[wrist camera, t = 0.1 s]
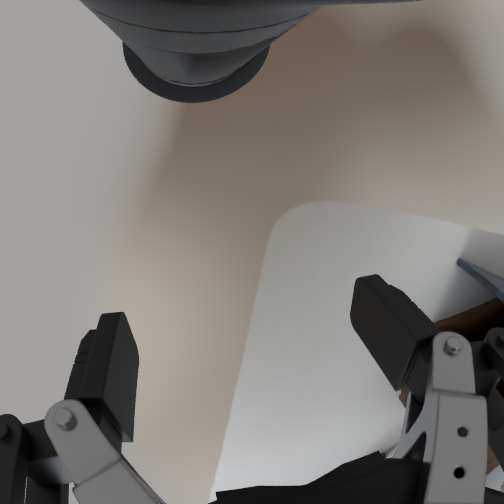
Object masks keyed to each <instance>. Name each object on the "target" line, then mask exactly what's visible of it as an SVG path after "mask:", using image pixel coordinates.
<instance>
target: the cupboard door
mask: <svg viewBox="0 0 504 504" xmlns="http://www.w3.org/2000/svg"><path fill="white" fill-rule="evenodd" d="M457 265H458V266H459V267H461V268H462V269H463V270H465V271H466V272H467V273H468V274H470V275H471V276H472V277H474V278H475V279H476V280H477V281H479V282H480V283H481V284H482V285H483V286H485V287H486V288H487V289H488V290H490V291H491V292H492V293H493V294H494V295H496V296H497V297H498V298H499V299H500V300H501V301H503V302H504V278H502V277H500V276H497V275H495V274H493V273H491V272H489V271H487V270H484V269H482V268H480V267H478V266H475V265H473V264H471V263H469V262H466V261H464V260H462V259H459V261H458V263H457Z"/></svg>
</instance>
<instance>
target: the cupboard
mask: <svg viewBox="0 0 504 504" xmlns="http://www.w3.org/2000/svg"><path fill="white" fill-rule="evenodd" d="M435 325H436V326H437V327H438V328H439V330H440V331H441V332H445V331H450V332H455V333H458V334H460V335H462V336H463V337H464V338H466V339H467V341H468V342H476V341H484V339H485V337H486V335H487V333H488V331H489V330H490V329H492V328H495V327H500V328H504V302H503V301H501V300H500V299H499V298H496V299H494V300H492V301H489V302H487V303H485V304H483V305H480V306H478V307H475V308H473V309H471V310H468V311H466V312H463V313H461V314H458V315H456V316H453V317H451V318H448V319H445V320H443V321H440V322H437V323H435ZM495 388H496V389H497V391H498V392H499V393H500V395H501V396H502V397H503V399H504V381H503V379H502V378H501V379H500V380H499V382H498V383H497V385H496V386H495ZM409 392H410V390H409V388H408V387H406V388H403V390H402V392H401V394H400V396H399V399H400V400H401V402H402V403H403V405H404V407H405V408H406V404H407V398H408V394H409ZM499 465H500V464H499V462H498V460H497V459H496V457H495V455H494V453H493V452H492V450H491V448H490V447H489V445H487V470H486V476H487V475H488V474H489V473H490V472H492V471H493V470H494V469H495V468H496V467H498V466H499Z"/></svg>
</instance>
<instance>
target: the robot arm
mask: <svg viewBox="0 0 504 504" xmlns="http://www.w3.org/2000/svg"><path fill="white" fill-rule="evenodd" d="M80 1H81V2H82V3H83V4H84V5H85V6H86V7H87V8H88V9H90V10H91V11H92V12H93V13H94V14H95V15H96V16H97V17H98V18H99V19H100V20H101V21H102V22H103V23H105V24H106V25H107V26H108V27H109V28H110V29H111V30H112V31H113V32H114V33H115V34H116V35H117V36H118V37H119V38H120V39H121V40H122V41H123V42H124V43H125V44H126V45H127V46H128V47H129V48H130V49H131V50H132V51H133V52H134V53H135V54H136V55H137V56H138V57H139V58H140V59H141V60H142V61H143V63H144V64H145V65H146V66H147V68H148V69H149V70H150V71H151V72H152V73H153V74H155V75H156V76H157V77H159V78H160V79H162V80H164V81H166V82H168V83H171V84H174V85H178V86H183V87H203V86H209V85H213V84H216V83H218V82H221V81H223V80H225V79H227V78H229V77H230V76H232V75H233V74H235V73H236V72H237V71H239V70H240V69H241V68H242V67H243V66H244V65H245V64H246V63H247V62H248V61H249V60H250V59H251V58H253V57H255V56H256V55H257V54H258V53H259V52H260V51H262V50H263V49H264V48H266V47H267V46H268V45H269V44H271V43H272V42H273V41H275V40H276V39H277V38H279V37H280V36H281V35H283V34H284V33H286V32H287V31H288V30H290V29H291V28H293V27H294V26H295V25H297V24H298V23H299V22H301V21H302V20H304V19H305V18H307V17H308V16H310V15H311V14H313V13H314V12H316V11H317V10H319V9H321V8H322V7H323V6H325V5H340V4H377V3H397V2H410V1H411V2H412V1H421V0H80ZM238 73H239V72H238ZM238 73H237V74H238ZM237 74H236V75H237ZM236 75H235V76H236ZM235 76H234V77H235ZM234 77H233V78H234ZM233 78H232V79H233ZM350 318H351V323H352V326H353V328H354V330H355V331H356V333H357V334H358V335H359V337H360V338H361V340H362V341H363V343H364V344H365V346H366V347H367V349H368V350H369V352H370V353H371V355H372V356H373V358H374V359H375V361H376V362H377V364H378V365H379V367H380V368H381V370H382V371H383V373H384V374H385V376H386V377H387V379H388V380H389V382H390V383H391V385H392V386H393V388H394V390H395V391H398V390H401V389H403V388H406V387H408V388H409V390H410V392H409V394H408V398H407V404H406V411H405V417H404V422H403V428H402V433H401V438H400V442H399V444H398V447H397V449H396V451H395V453H394V456H393V458H384V459H383V458H382V456H381V454H380V452H379V451H377V452H374V453H372V454H369V455H367V456H364V457H361V458H359V459H356V460H353V461H350V462H347V463H344V464H342V465H340V466H339V467H337V468H336V469H334V470H332V471H330V472H329V473H327V474H325V475H324V476H322V477H320V478H318V479H316V480H315V481H313V482H311V483H309V484H306V485H301V486H254V487H248V488H242V489H235V490H228V491H220V492H216V497H217V500H216V501H213V502H211V503H208V504H504V482H503V483H502V485H501V491H502V492H501V491H497V490H494V489H490V488H488V487H485V482H486V470H487V445H489V447H490V448H491V450H492V452H493V453H494V455H495V457H496V459H497V460H498V462H499V464H500V466H501V467H502V469H503V471H504V399H503V397H502V396H501V395H500V393H499V392H498V391H497V389H496V388H495V386H496V385H497V383H498V382H499V380H500V379H501V378H502V379H503V381H504V328H500V327H495V328H492V329H490V330H489V331H488V333H487V335H486V337H485V339H484V341H476V342H468V341H467V339H466V338H464V337H463V336H462V335H460V334H458V333H455V332H450V331H445V332H441V331H440V330H439V328H438V327H437V326H436V325H435V324H434V323H433V322H432V321H431V320H430V319H429V318H428V317H427V316H426V315H425V314H424V313H423V312H422V311H421V309H420V308H419V309H418V306H417V305H416V304H415V303H414V302H411V299H410V298H409V297H408V296H407V295H406V294H405V293H404V292H403V291H401V290H399V289H397V288H396V287H394V286H392V285H388V284H387V283H386V282H385V281H384V280H383V279H382V278H381V277H380V276H379V275H377V274H375V275H369V276H364V277H359V278H357V279H356V281H355V286H354V292H353V299H352V305H351V311H350ZM138 367H139V354H138V349H137V345H136V342H135V340H134V337H133V334H132V332H131V329H130V326H129V323H128V321H127V318H126V316H125V314H124V312H115V313H105V314H102V315H101V316H100V319H99V322H98V326H97V329H94V330H89V332H88V333H87V334H86V335H85V337H84V338H83V339H82V340H81V343H80V346H79V349H78V354H77V355H76V358H75V364H74V365H73V368H72V371H71V375H70V378H69V382H68V385H67V389H66V393H65V396H64V400H62V401H60V402H58V403H56V404H54V405H53V406H52V407H51V408H50V409H49V410H48V412H47V414H46V416H45V419H43V420H39V421H35V422H31V423H26V424H22V423H21V422H20V421H19V420H18V419H17V418H16V417H15V416H14V415H11V414H4V415H1V416H0V504H68V495H69V483H71V482H74V485H75V487H73V489H72V490H73V493H74V495H75V497H76V499H77V501H78V502H79V504H166V503H165V502H164V501H163V500H162V499H161V498H160V497H159V496H158V495H157V494H156V493H155V492H154V491H153V490H152V488H151V487H150V486H149V485H148V484H147V483H146V482H145V481H144V480H143V478H142V477H141V476H140V475H139V474H138V473H137V472H136V470H135V469H134V468H133V467H132V466H131V464H130V463H129V462H128V461H127V459H126V458H125V457H124V456H123V454H122V453H121V446H122V442H133V432H134V415H135V401H136V400H135V399H136V389H137V378H138ZM26 478H27V486H26ZM25 487H26V499H25ZM24 500H25V503H24Z"/></svg>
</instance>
